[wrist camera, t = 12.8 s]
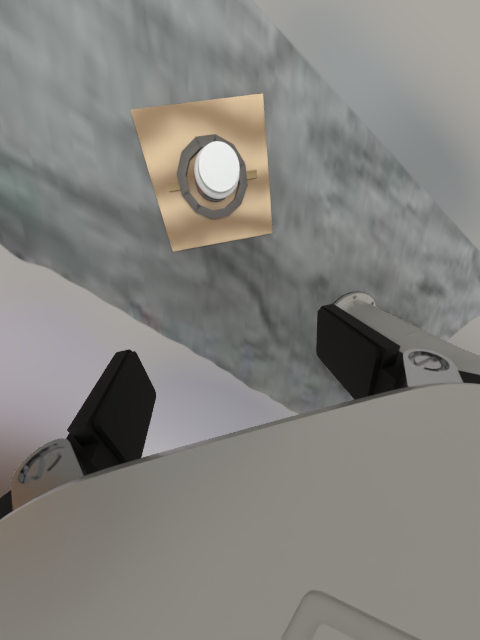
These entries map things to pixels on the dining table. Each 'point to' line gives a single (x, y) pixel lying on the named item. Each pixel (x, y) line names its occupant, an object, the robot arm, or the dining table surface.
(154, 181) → the socket board
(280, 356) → the dining table surface
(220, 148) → the pill bottle
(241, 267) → the dining table surface
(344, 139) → the dining table surface
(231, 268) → the dining table surface
